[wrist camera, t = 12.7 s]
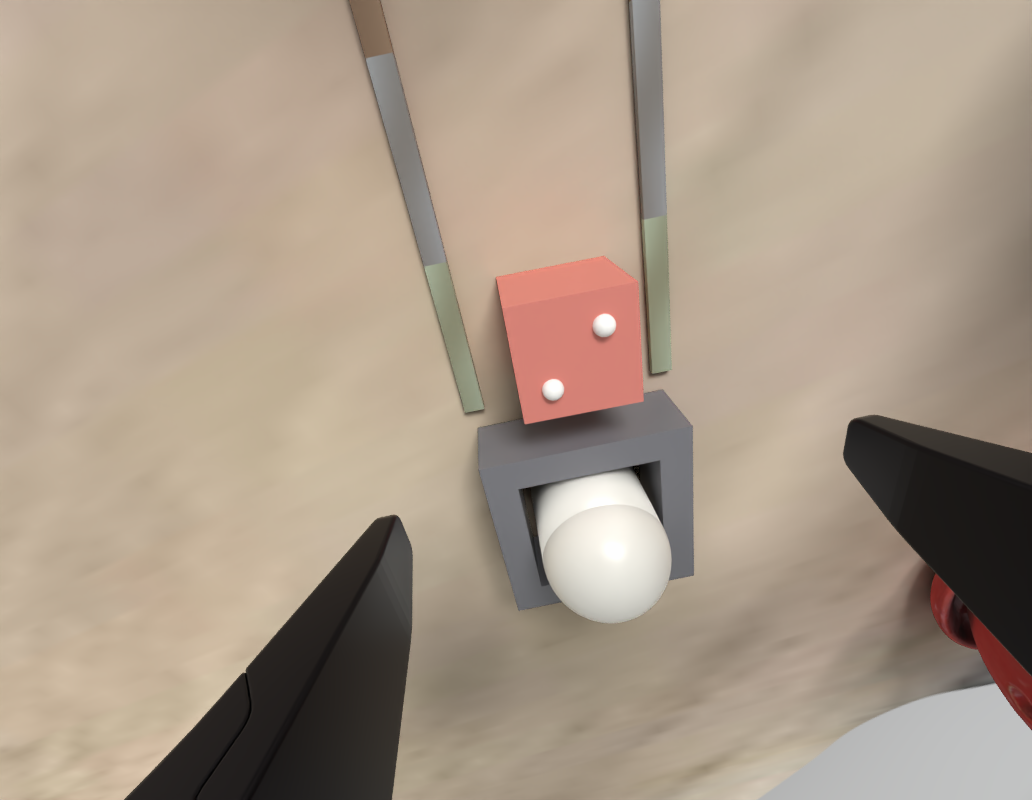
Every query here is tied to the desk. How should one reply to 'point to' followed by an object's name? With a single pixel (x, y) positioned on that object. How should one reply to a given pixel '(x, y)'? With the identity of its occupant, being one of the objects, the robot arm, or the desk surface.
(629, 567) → the dome
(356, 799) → the robot arm
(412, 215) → the track
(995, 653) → the plant pot
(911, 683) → the desk surface
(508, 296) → the die
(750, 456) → the desk surface
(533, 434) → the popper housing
